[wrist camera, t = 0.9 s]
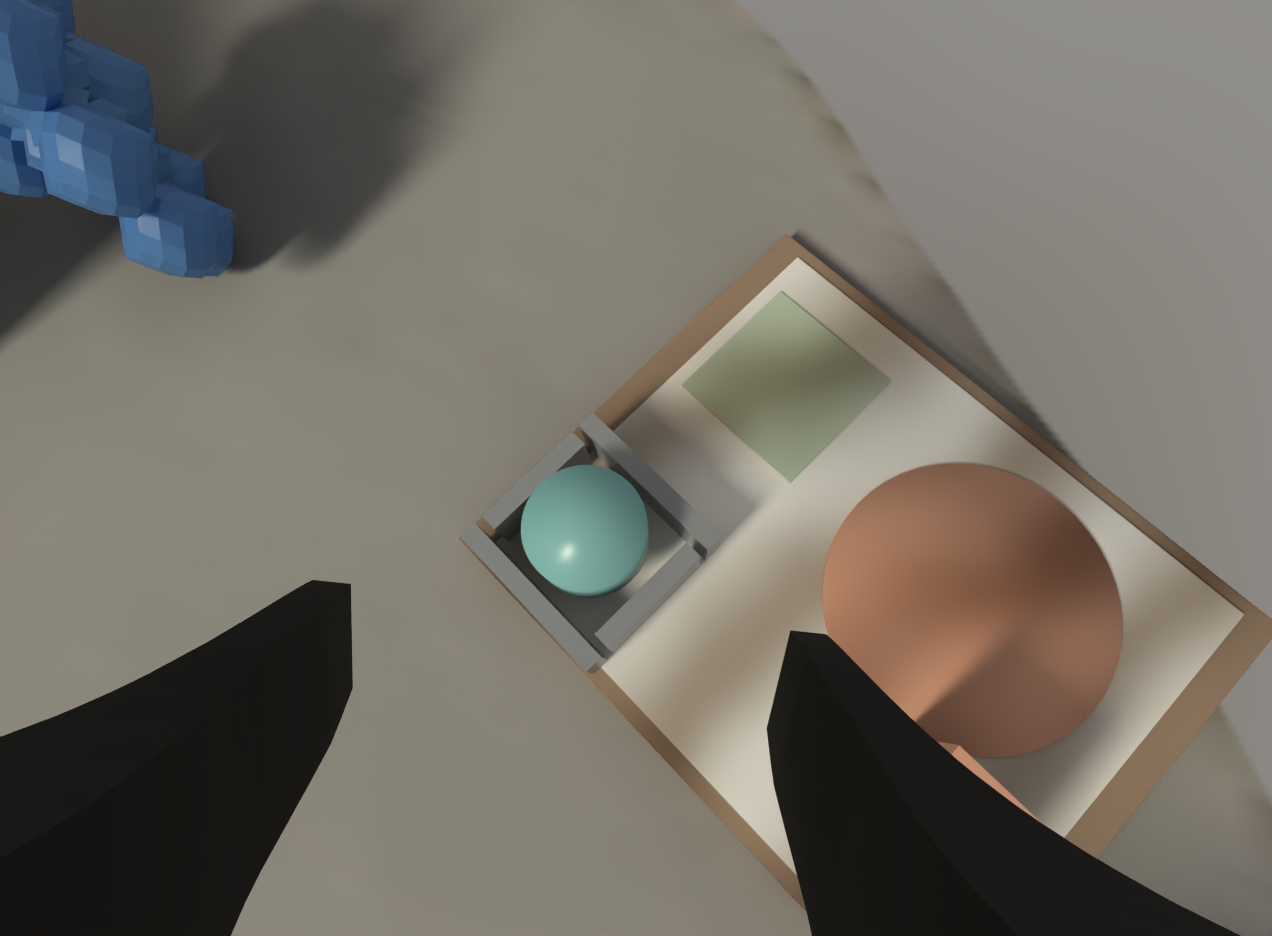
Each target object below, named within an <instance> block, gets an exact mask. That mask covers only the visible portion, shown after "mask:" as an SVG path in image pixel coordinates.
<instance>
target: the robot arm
mask: <svg viewBox="0 0 1272 936" xmlns="http://www.w3.org/2000/svg"><path fill="white" fill-rule="evenodd" d="M352 688H353V683H352V626H351V584H346V583H336V582H327V581H317V580H312V581H310V582H308V583H306V584H304V585H302V586H301V587H299V588H297V589H295V590H294V591H292V592H290V593H289V594H287V595H285V596H284V597H282V598H280V599H279V600H277V601H275V602H274V603H272V604H270V605H269V606H267V607H266V608H264V609H262V610H261V611H259V612H257V613H256V614H254V615H252V616H251V617H249V618H247V619H246V620H244V621H242V622H241V623H239V624H237V625H236V626H234V627H232V628H231V629H229V630H227V631H226V632H224V633H222V634H221V635H219V636H217V637H215V638H214V639H212V640H210V641H209V642H207V643H205V644H203V645H201V646H199V647H198V648H196V649H194V650H192V651H190V652H188V653H186V654H185V655H183V656H181V657H179V658H177V659H175V660H173V661H172V662H170V663H168V664H166V665H164V666H162V667H160V668H159V669H157V670H155V671H153V672H151V673H149V674H147V675H145V676H143V677H141V678H139V679H137V680H135V681H133V682H131V683H129V684H127V685H125V686H123V687H121V688H119V689H117V690H114V691H112V692H110V693H108V694H106V695H103V696H101V697H99V698H97V699H94V700H92V701H90V702H88V703H85V704H83V705H81V706H79V707H76V708H74V709H72V710H69V711H67V712H64V713H62V714H60V715H57V716H55V717H52V718H49V719H47V720H44V721H41V722H39V723H36V724H33V725H31V726H28V727H26V728H23V729H20V730H18V731H15V732H12V733H10V734H7V735H4V736H2V737H0V936H231V934H232V931H233V929H234V927H235V924H236V922H237V920H238V918H239V915H240V913H241V911H242V908H243V906H244V904H245V902H246V900H247V898H248V896H249V894H250V892H251V890H252V888H253V886H254V884H255V882H256V880H257V878H258V876H259V874H260V872H261V870H262V868H263V866H264V864H265V863H266V861H267V859H268V857H269V855H270V854H271V852H272V850H273V848H274V846H275V845H276V843H277V841H278V839H279V837H280V835H281V834H282V832H283V830H284V828H285V826H286V825H287V823H288V821H289V819H290V817H291V816H292V814H293V812H294V810H295V808H296V807H297V805H298V803H299V801H300V799H301V798H302V796H303V794H304V792H305V790H306V789H307V787H308V785H309V783H310V781H311V779H312V778H313V776H314V774H315V772H316V770H317V768H318V767H319V765H320V763H321V761H322V759H323V757H324V755H325V754H326V752H327V750H328V748H329V746H330V744H331V742H332V739H333V737H334V734H335V732H336V730H337V727H338V725H339V722H340V720H341V717H342V714H343V712H344V709H345V707H346V704H347V701H348V699H349V696H350V693H351V691H352ZM767 736H768V745H769V754H770V762H771V769H772V776H773V784H774V788H775V793H776V797H777V801H778V805H779V809H780V812H781V816H782V820H783V824H784V828H785V832H786V836H787V840H788V843H789V847H790V851H791V855H792V858H793V862H794V866H795V870H796V874H797V877H798V881H799V885H800V889H801V893H802V896H803V900H804V904H805V908H806V911H807V915H808V919H809V924H810V928H811V933H812V936H1240V935H1238V934H1236V933H1234V932H1232V931H1230V930H1228V929H1226V928H1224V927H1222V926H1220V925H1218V924H1216V923H1214V922H1212V921H1210V920H1208V919H1206V918H1204V917H1202V916H1200V915H1198V914H1196V913H1194V912H1192V911H1190V910H1188V909H1185V908H1183V907H1181V906H1179V905H1177V904H1176V903H1174V902H1172V901H1170V900H1168V899H1166V898H1164V897H1163V896H1161V895H1159V894H1157V893H1156V892H1154V891H1152V890H1150V889H1148V888H1147V887H1145V886H1143V885H1141V884H1140V883H1138V882H1136V881H1134V880H1133V879H1131V878H1129V877H1127V876H1125V875H1124V874H1122V873H1120V872H1118V871H1117V870H1115V869H1113V868H1112V867H1110V866H1108V865H1107V864H1105V863H1103V862H1102V861H1100V860H1098V859H1097V858H1095V857H1093V856H1092V855H1090V854H1088V853H1087V852H1085V851H1084V850H1082V849H1080V848H1079V847H1077V846H1076V845H1074V844H1073V843H1071V842H1070V841H1068V840H1067V839H1065V838H1064V837H1062V836H1061V835H1059V834H1058V833H1056V832H1054V831H1053V830H1051V829H1050V828H1048V827H1047V826H1045V825H1044V824H1042V823H1041V822H1039V821H1038V820H1036V819H1035V818H1033V817H1032V816H1031V815H1029V814H1028V813H1026V812H1025V811H1023V810H1022V809H1021V808H1019V807H1018V806H1016V805H1015V804H1014V803H1012V802H1011V801H1010V800H1008V799H1007V798H1006V797H1004V796H1003V795H1002V794H1000V793H999V792H998V791H997V790H995V789H994V788H993V787H991V786H990V785H989V784H987V783H986V782H985V781H983V780H982V779H981V778H979V777H978V776H977V775H976V774H974V773H973V772H972V771H971V770H969V769H968V768H967V767H966V766H965V765H963V764H962V763H961V762H960V761H958V760H957V759H956V758H955V757H954V756H953V755H952V754H950V753H949V752H948V751H947V750H946V749H945V748H944V747H942V746H941V745H940V744H939V743H938V742H937V741H936V740H934V739H933V738H932V737H931V736H930V735H929V734H928V733H926V732H925V731H924V730H923V729H922V728H921V727H920V726H919V725H918V724H917V723H916V722H915V721H914V720H913V719H911V718H910V717H909V716H908V715H907V714H906V713H905V712H904V711H903V710H902V709H901V708H900V707H899V706H898V705H897V704H896V703H895V702H894V701H893V700H892V699H891V698H890V697H889V696H888V695H887V694H886V693H885V692H884V691H883V690H882V689H881V688H880V687H879V686H878V685H877V684H876V683H875V682H874V681H873V680H872V679H871V678H870V677H869V676H868V675H867V674H866V673H865V672H864V671H863V670H862V669H861V668H860V667H859V666H858V665H857V664H856V663H855V662H854V661H853V660H852V659H851V658H850V657H849V656H848V655H847V654H846V652H845V651H844V650H843V649H842V648H841V647H840V646H839V645H838V644H836V643H835V642H834V641H833V640H832V639H831V638H830V637H829V636H828V635H827V634H820V633H811V632H801V631H792V630H790V634H789V638H788V642H787V646H786V650H785V654H784V658H783V663H782V667H781V671H780V675H779V679H778V683H777V687H776V692H775V696H774V700H773V704H772V708H771V712H770V716H769V720H768V725H767Z"/></svg>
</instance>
